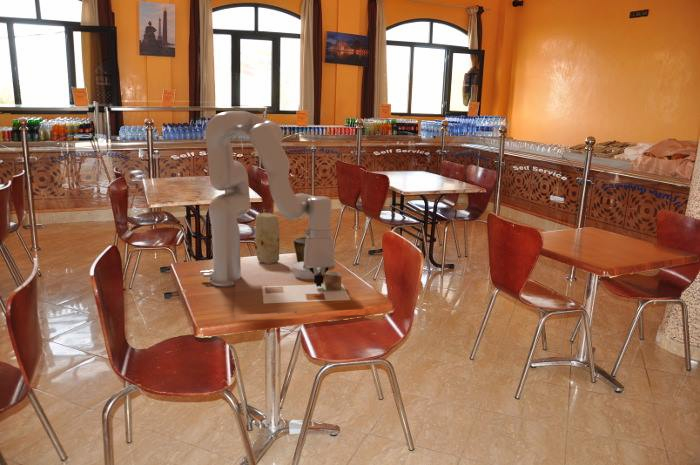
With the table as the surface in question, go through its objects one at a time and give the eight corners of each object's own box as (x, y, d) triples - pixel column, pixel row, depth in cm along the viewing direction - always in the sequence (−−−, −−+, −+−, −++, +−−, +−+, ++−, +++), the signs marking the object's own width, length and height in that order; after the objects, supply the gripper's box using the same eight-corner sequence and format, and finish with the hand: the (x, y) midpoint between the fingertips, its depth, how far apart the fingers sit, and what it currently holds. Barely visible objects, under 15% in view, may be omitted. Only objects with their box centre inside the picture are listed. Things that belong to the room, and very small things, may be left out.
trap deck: (263, 307, 180) (263, 303, 179) (262, 290, 195) (262, 286, 194) (350, 304, 184) (350, 299, 184) (342, 287, 200) (342, 283, 199)
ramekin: (325, 275, 213) (325, 261, 212) (320, 284, 202) (320, 270, 201) (295, 273, 214) (295, 260, 213) (289, 283, 203) (289, 269, 202)
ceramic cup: (321, 266, 223) (321, 242, 220) (296, 268, 220) (296, 243, 218) (313, 257, 235) (313, 234, 233) (289, 258, 232) (289, 235, 230)
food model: (280, 260, 230) (280, 212, 225) (278, 265, 224) (278, 215, 219) (256, 259, 230) (255, 211, 225) (253, 264, 224) (252, 214, 219)
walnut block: (326, 290, 192) (326, 276, 191) (324, 285, 197) (325, 272, 195) (341, 290, 193) (341, 276, 191) (339, 285, 197) (339, 271, 196)
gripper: (298, 236, 184) (297, 289, 189) (343, 235, 187) (341, 288, 191) (296, 230, 191) (295, 282, 196) (339, 230, 194) (338, 281, 199)
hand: (318, 285), depth 194 cm, fingers closed
